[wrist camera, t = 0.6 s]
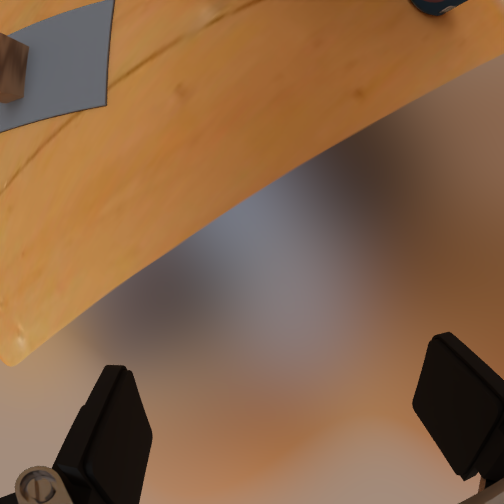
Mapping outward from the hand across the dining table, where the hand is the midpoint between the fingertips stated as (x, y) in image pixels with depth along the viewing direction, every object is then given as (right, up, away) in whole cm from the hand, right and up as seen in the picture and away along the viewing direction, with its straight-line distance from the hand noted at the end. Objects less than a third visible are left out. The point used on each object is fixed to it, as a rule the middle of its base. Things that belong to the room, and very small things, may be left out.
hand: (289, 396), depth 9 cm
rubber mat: (-29, +29, +21) cm, 46 cm away
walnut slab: (-34, +29, +20) cm, 49 cm away
